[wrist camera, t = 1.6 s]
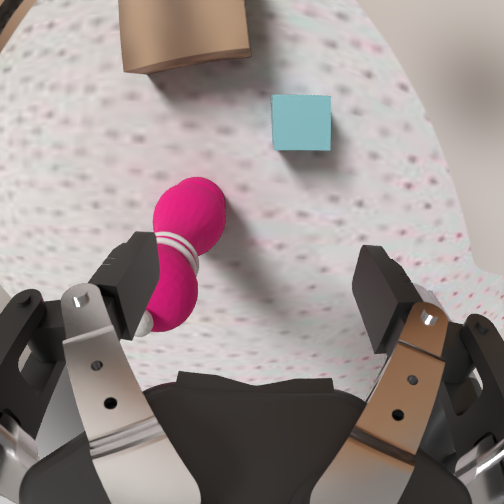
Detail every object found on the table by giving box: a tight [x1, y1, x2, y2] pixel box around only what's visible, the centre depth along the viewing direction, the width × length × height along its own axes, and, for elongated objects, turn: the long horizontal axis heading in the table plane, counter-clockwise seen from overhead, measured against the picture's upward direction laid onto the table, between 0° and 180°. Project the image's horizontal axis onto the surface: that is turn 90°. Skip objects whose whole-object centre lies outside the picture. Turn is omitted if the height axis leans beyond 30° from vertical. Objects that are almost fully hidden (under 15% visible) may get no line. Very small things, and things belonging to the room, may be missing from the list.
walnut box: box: [118, 0, 251, 75], centre depth 20 cm, size 11×11×6 cm
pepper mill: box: [134, 177, 226, 337], centre depth 24 cm, size 7×7×20 cm
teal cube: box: [271, 95, 331, 151], centre depth 26 cm, size 5×5×5 cm
